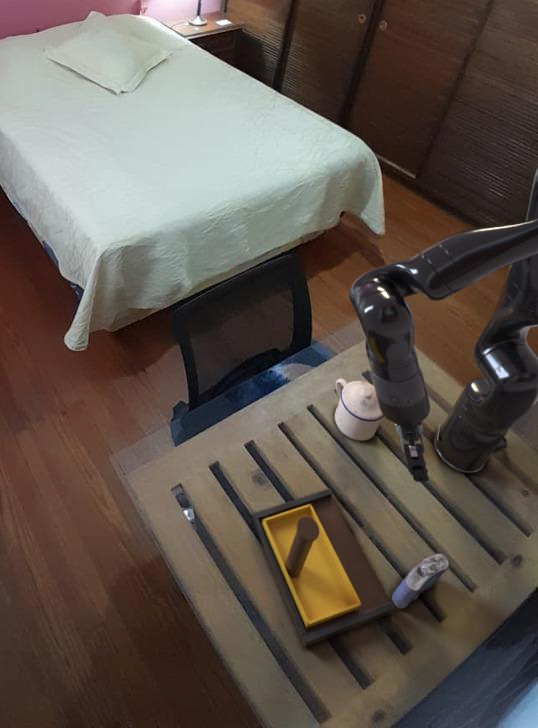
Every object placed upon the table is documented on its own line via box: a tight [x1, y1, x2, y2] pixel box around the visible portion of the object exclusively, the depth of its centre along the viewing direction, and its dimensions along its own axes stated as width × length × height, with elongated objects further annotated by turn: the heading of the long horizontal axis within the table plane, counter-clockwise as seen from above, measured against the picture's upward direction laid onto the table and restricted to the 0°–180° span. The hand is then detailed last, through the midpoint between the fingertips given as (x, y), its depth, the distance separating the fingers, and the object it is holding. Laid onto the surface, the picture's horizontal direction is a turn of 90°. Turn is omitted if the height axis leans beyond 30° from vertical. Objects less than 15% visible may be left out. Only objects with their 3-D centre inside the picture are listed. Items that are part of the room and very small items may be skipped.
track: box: [251, 488, 396, 647], centre depth 97 cm, size 16×20×2 cm
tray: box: [261, 504, 362, 629], centre depth 91 cm, size 10×16×18 cm, turn 15°
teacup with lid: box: [334, 378, 385, 442], centre depth 116 cm, size 12×9×12 cm
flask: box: [391, 553, 451, 610], centre depth 91 cm, size 9×3×11 cm, turn 117°
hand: (416, 456), depth 92 cm, fingers open, 8 cm apart
